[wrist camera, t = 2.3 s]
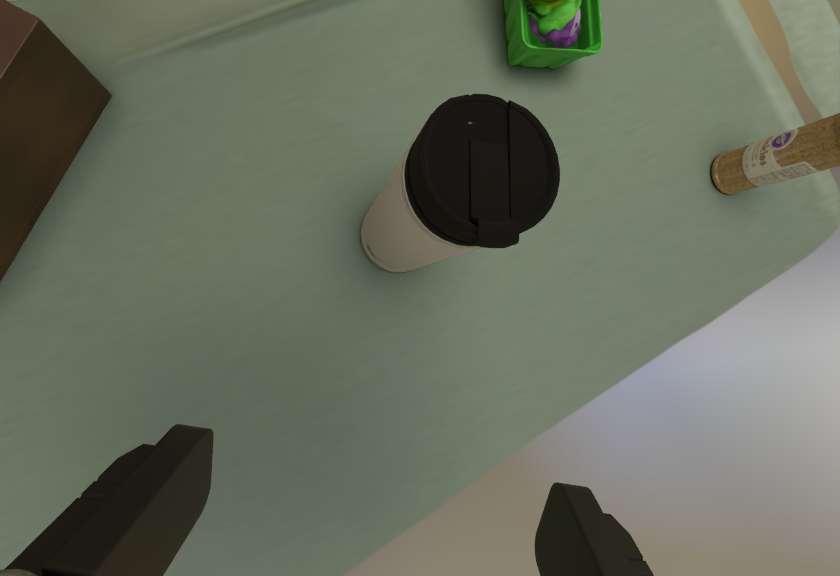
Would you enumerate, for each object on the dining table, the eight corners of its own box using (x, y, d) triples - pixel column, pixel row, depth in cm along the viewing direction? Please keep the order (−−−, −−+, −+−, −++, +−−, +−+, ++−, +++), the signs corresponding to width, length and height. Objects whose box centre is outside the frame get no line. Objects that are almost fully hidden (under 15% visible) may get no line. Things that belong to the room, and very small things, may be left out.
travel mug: (358, 276, 35) (420, 241, 16) (360, 196, 35) (422, 65, 16) (431, 278, 36) (570, 249, 17) (432, 202, 37) (569, 89, 17)
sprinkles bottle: (713, 147, 45) (878, 83, 32) (746, 162, 46) (918, 106, 33) (705, 187, 44) (869, 138, 31) (738, 202, 46) (910, 161, 32)
